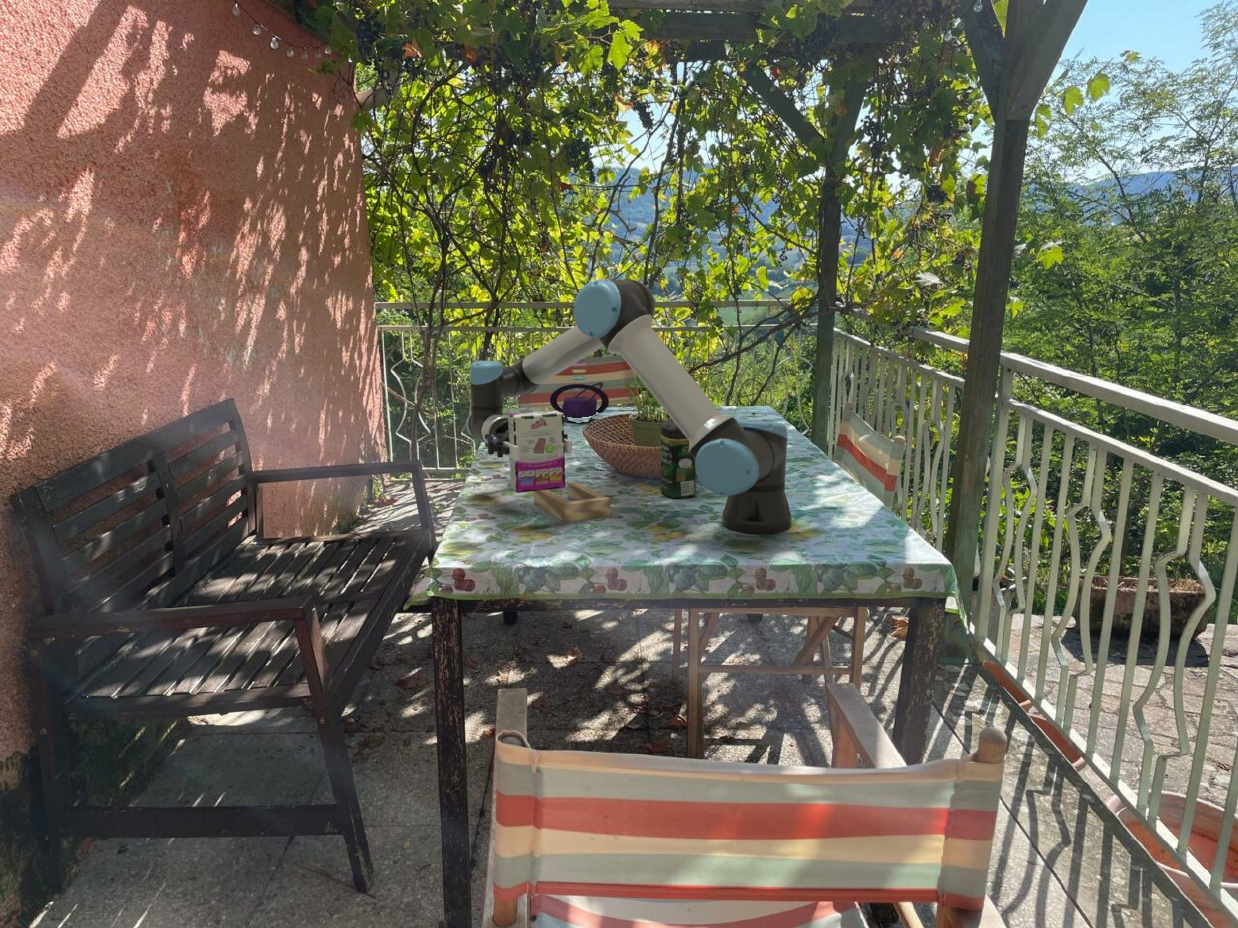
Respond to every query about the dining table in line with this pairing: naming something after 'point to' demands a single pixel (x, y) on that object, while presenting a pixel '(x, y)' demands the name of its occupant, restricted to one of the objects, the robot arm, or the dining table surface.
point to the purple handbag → (580, 398)
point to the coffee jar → (676, 463)
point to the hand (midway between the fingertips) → (544, 450)
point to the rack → (574, 503)
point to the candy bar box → (537, 451)
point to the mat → (561, 522)
